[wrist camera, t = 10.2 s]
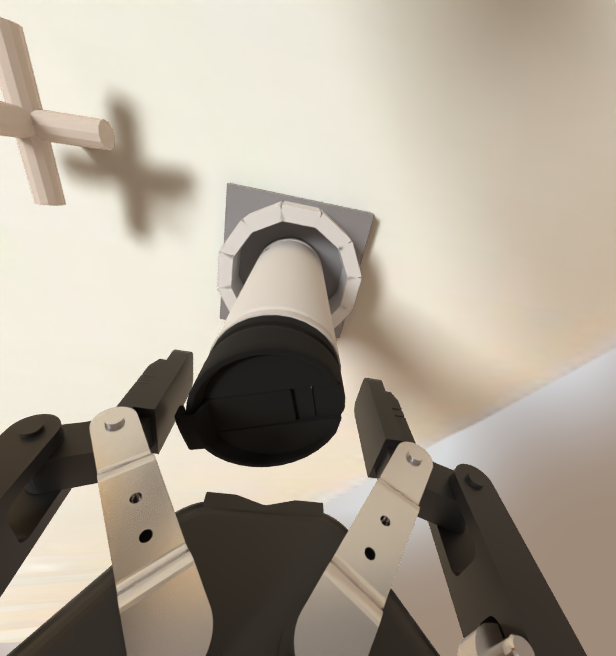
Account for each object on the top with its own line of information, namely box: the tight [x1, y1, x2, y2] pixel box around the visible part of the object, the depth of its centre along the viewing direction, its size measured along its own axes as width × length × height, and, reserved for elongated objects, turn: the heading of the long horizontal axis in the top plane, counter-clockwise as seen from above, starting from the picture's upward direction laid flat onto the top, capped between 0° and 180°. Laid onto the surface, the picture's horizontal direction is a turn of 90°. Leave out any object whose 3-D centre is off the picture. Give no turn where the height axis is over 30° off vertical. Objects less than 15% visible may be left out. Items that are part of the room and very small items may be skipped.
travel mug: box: [174, 237, 345, 467], centre depth 19 cm, size 6×7×20 cm
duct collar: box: [217, 183, 374, 338], centre depth 27 cm, size 13×13×5 cm
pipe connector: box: [0, 17, 115, 205], centre depth 19 cm, size 10×10×10 cm
